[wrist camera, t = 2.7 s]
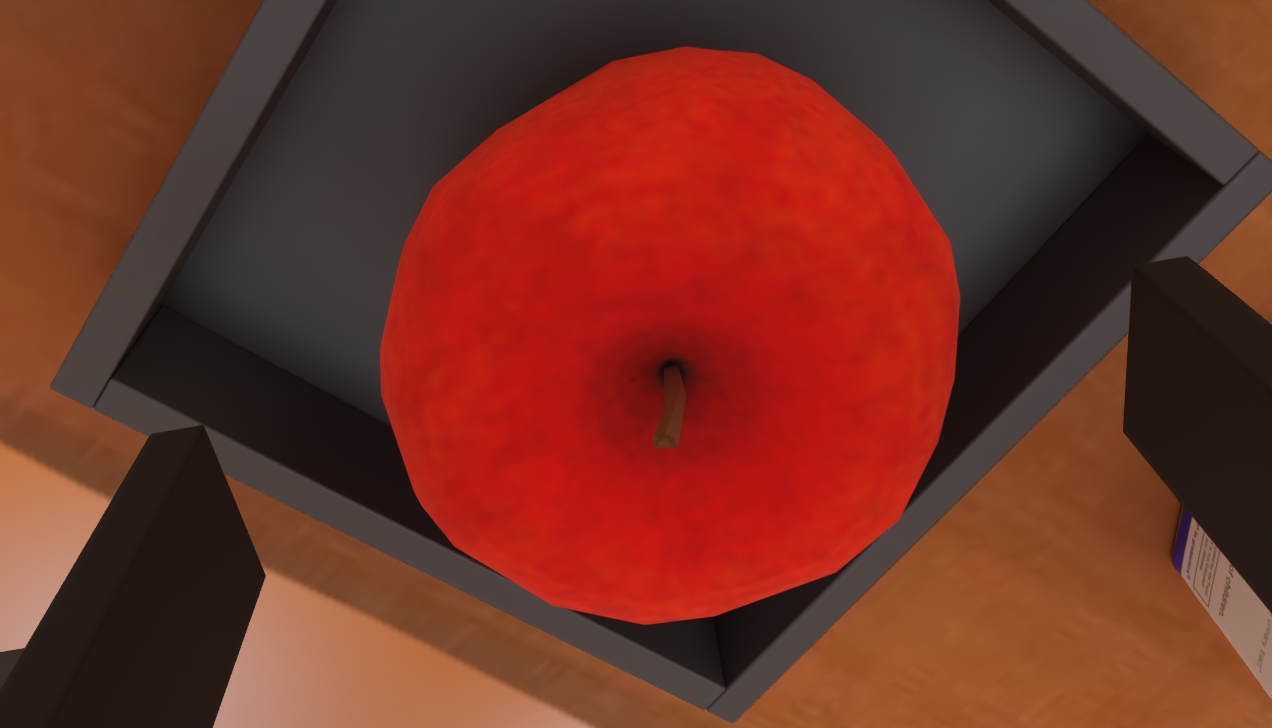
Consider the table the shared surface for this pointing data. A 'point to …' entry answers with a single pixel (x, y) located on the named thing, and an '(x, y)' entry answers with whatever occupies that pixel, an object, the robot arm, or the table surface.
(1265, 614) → the supplement box
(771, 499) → the apple
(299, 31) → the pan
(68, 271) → the table surface
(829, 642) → the table surface
